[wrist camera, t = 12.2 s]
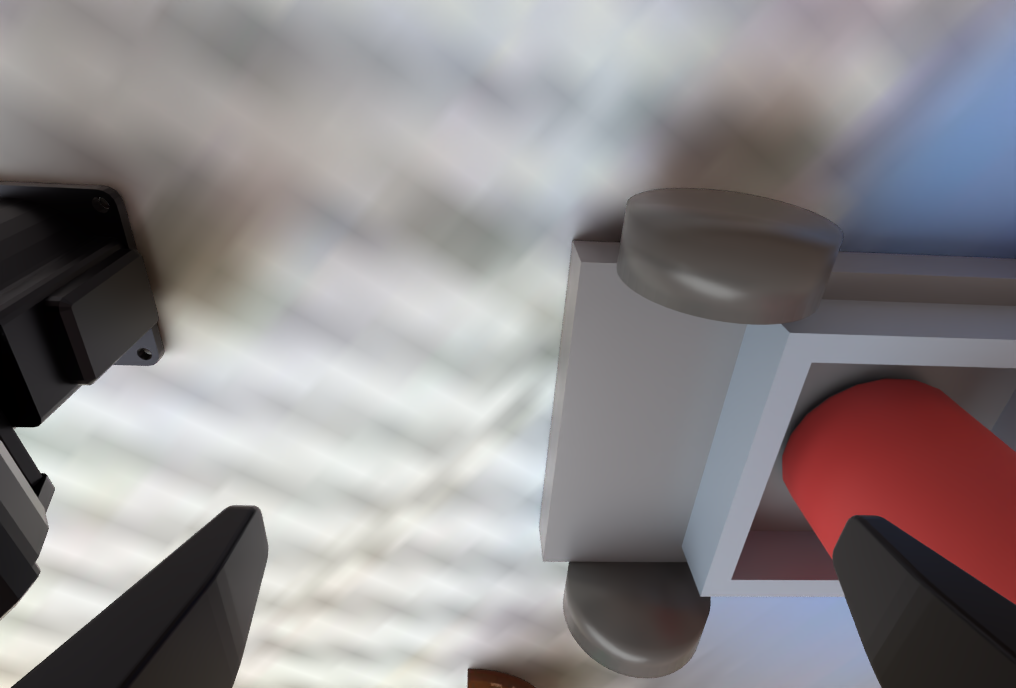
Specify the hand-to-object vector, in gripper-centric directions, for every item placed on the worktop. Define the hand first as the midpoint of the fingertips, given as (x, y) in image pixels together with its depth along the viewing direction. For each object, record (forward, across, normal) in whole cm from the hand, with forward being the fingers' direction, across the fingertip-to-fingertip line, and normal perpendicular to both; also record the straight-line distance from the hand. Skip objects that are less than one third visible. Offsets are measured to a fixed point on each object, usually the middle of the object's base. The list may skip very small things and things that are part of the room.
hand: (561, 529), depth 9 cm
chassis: (+13, -14, +7) cm, 20 cm away
